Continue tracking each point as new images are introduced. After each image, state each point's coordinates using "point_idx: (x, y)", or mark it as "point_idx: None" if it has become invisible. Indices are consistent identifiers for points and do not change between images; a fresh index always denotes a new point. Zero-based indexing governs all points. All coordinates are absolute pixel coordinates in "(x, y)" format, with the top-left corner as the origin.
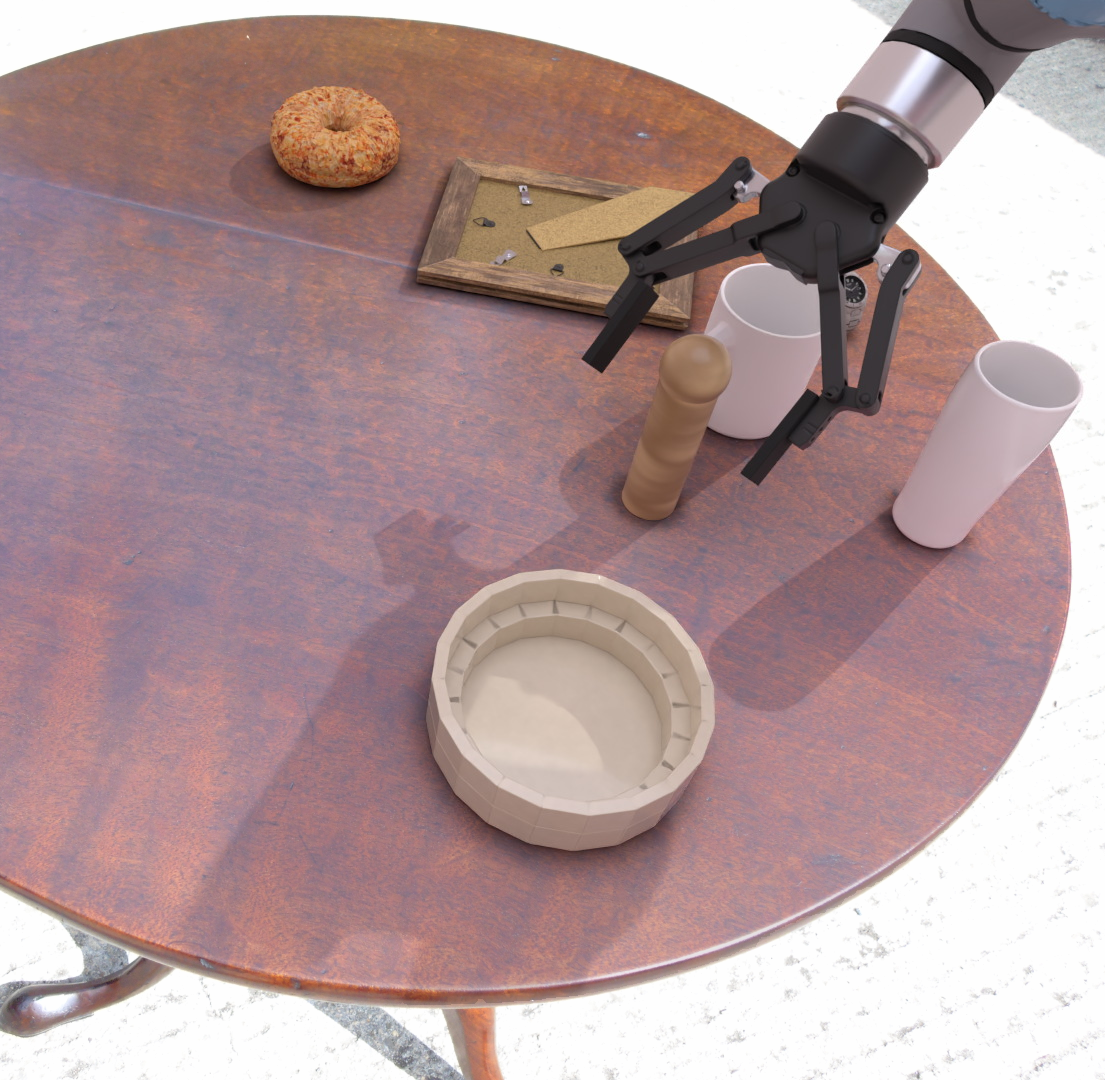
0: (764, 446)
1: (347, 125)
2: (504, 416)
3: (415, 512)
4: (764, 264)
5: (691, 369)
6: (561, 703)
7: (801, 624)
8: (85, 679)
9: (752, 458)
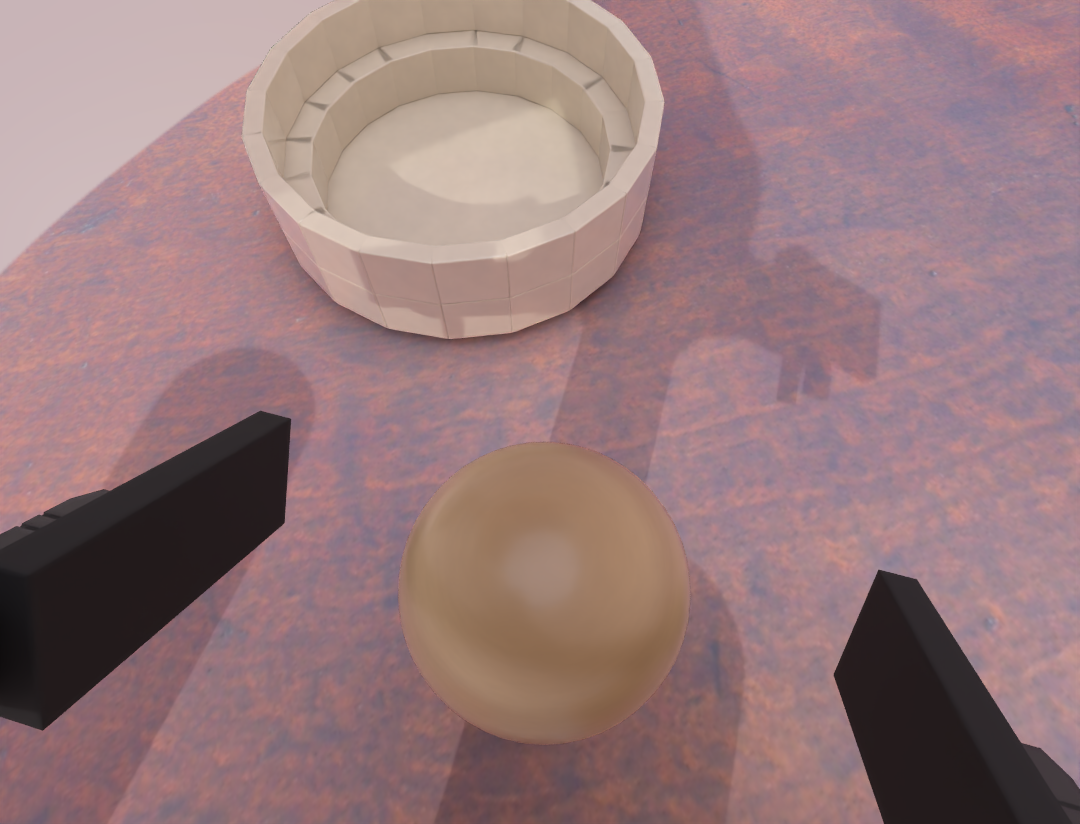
0: (222, 453)
1: None
2: None
3: (868, 372)
4: None
5: (536, 446)
6: (476, 206)
7: None
8: (943, 3)
9: (258, 437)
